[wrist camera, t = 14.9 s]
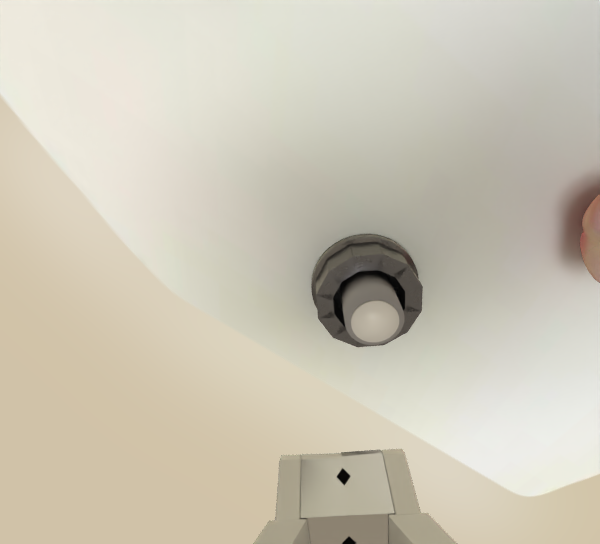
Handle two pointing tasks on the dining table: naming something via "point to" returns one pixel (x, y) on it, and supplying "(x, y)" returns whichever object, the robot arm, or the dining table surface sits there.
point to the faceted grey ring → (355, 258)
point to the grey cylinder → (371, 307)
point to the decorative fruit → (591, 238)
